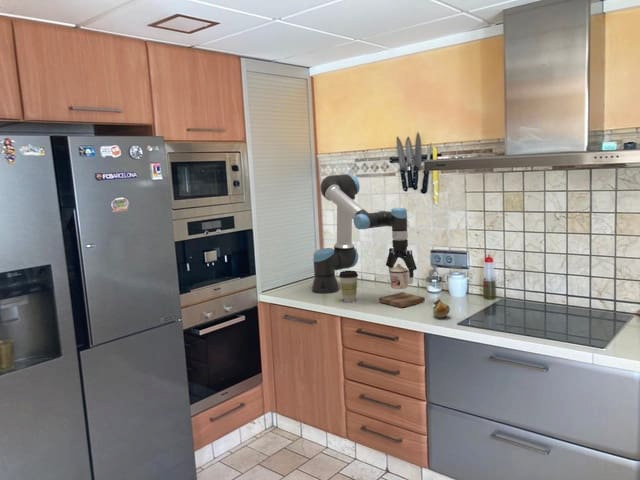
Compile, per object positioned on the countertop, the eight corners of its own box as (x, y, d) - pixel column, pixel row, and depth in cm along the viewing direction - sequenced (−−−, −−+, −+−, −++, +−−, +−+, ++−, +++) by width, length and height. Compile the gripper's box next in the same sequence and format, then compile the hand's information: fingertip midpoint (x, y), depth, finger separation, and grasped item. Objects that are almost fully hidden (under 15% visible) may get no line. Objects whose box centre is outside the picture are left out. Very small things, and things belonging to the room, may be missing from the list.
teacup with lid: (386, 287, 265) (385, 264, 263) (398, 284, 271) (398, 262, 269) (404, 291, 256) (403, 267, 254) (416, 287, 261) (416, 264, 260)
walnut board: (379, 302, 266) (379, 297, 266) (402, 296, 275) (401, 292, 275) (401, 308, 253) (401, 303, 253) (424, 302, 262) (424, 297, 262)
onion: (431, 319, 233) (431, 302, 232) (433, 314, 241) (432, 297, 239) (449, 320, 231) (449, 302, 230) (450, 315, 239) (449, 297, 237)
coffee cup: (344, 304, 267) (343, 275, 265) (337, 299, 276) (335, 271, 274) (362, 301, 270) (361, 272, 268) (354, 297, 279) (352, 269, 277)
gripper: (377, 238, 267) (379, 279, 270) (412, 242, 248) (413, 286, 251) (388, 236, 272) (390, 277, 275) (423, 240, 252) (424, 284, 255)
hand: (401, 282), depth 263 cm, fingers closed on teacup with lid, 12 cm apart
